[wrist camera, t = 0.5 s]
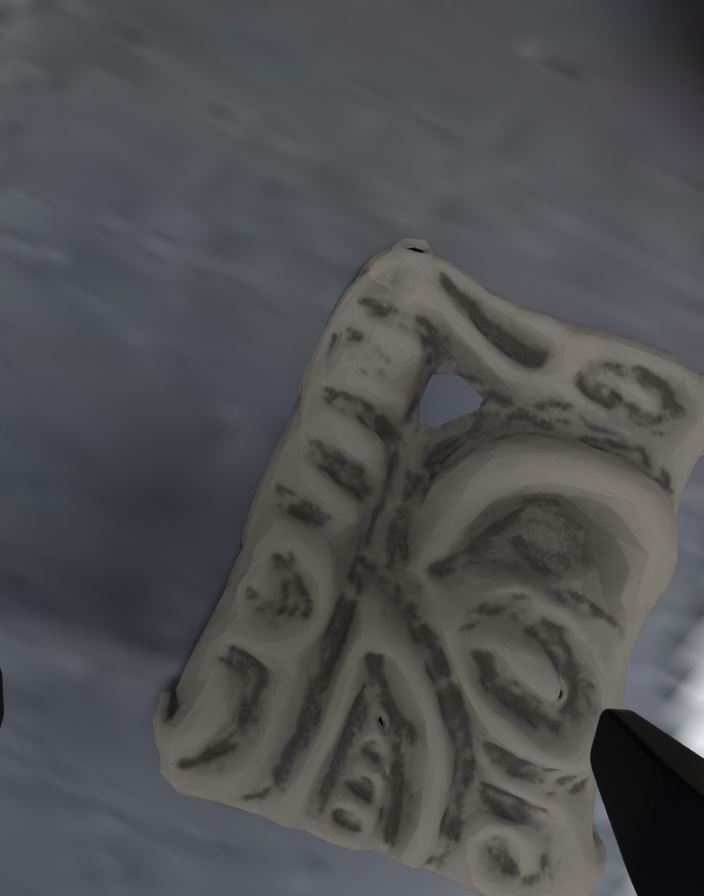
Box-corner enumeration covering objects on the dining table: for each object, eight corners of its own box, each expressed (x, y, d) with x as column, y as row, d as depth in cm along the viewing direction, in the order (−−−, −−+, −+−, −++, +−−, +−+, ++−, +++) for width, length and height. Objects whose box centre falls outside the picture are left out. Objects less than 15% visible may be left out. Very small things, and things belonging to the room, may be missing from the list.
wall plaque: (561, 898, 23) (610, 990, 19) (145, 749, 22) (108, 814, 18) (758, 395, 24) (845, 385, 20) (359, 223, 23) (367, 176, 19)
